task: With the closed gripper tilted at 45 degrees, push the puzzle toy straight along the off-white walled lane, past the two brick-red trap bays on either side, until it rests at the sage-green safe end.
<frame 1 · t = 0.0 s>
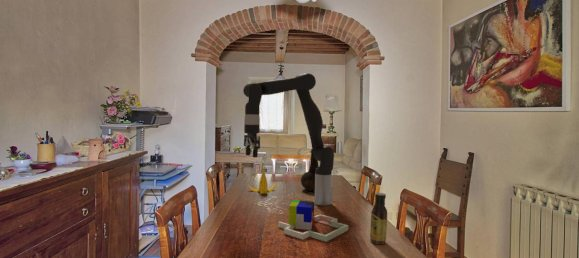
hand: (251, 156, 160), 29 cm above the table, tool pointing down, fingers open, 8 cm apart
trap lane: (312, 228, 144), on the table
puzzle toy: (301, 225, 148), on the table
banana peel: (266, 192, 211), on the table
glass bottle: (313, 190, 218), on the table
sauce bottle: (378, 242, 130), on the table
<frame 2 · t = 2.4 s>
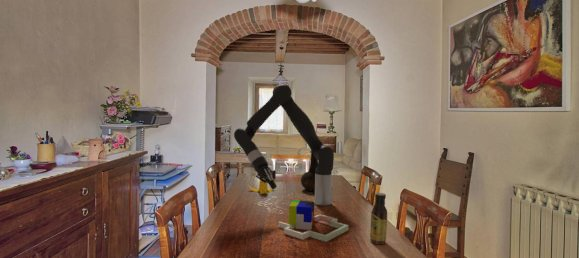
hand: (274, 188, 158), 14 cm above the table, tool tilted 45°, fingers closed
nothing on the table moved.
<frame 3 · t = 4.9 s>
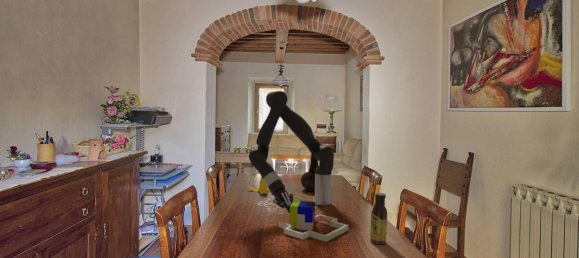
hand: (292, 213, 151), 4 cm above the table, tool tilted 45°, fingers closed
nothing on the table moved.
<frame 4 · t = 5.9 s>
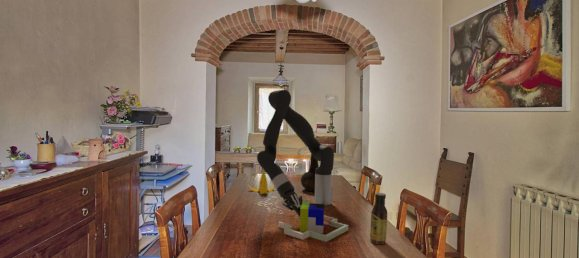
hand: (302, 216, 147), 4 cm above the table, tool tilted 45°, fingers closed
puzzle toy: (312, 229, 143), on the table, touching gripper
everything else where it was.
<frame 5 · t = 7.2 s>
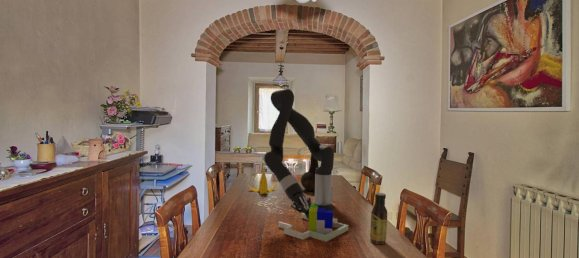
hand: (311, 218, 144), 4 cm above the table, tool tilted 45°, fingers closed
puzzle toy: (320, 231, 140), on the table, touching gripper, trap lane
everything else where it was.
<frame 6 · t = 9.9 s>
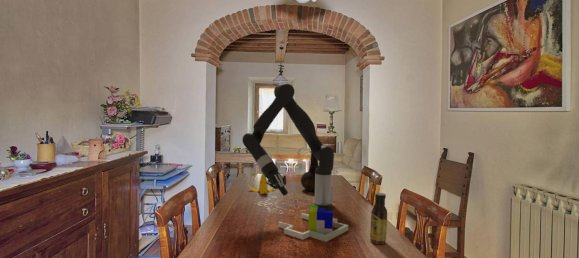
hand: (285, 194, 153), 12 cm above the table, tool tilted 45°, fingers closed
puzzle toy: (320, 232, 140), on the table
everything else where it was.
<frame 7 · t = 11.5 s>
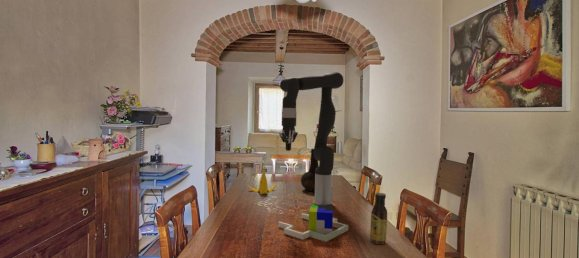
hand: (288, 150, 167), 32 cm above the table, tool pointing down, fingers closed
nothing on the table moved.
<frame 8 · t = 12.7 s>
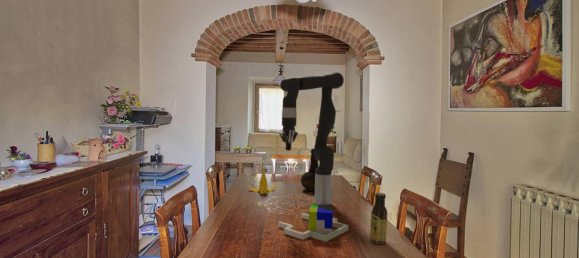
hand: (288, 150, 167), 32 cm above the table, tool pointing down, fingers closed
nothing on the table moved.
at the end: puzzle toy inside the target area on the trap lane (0.4 cm from its centre), point 0.0 cm above the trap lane's base; puzzle toy tilted 0°; puzzle toy moved 11.1 cm from its start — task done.
